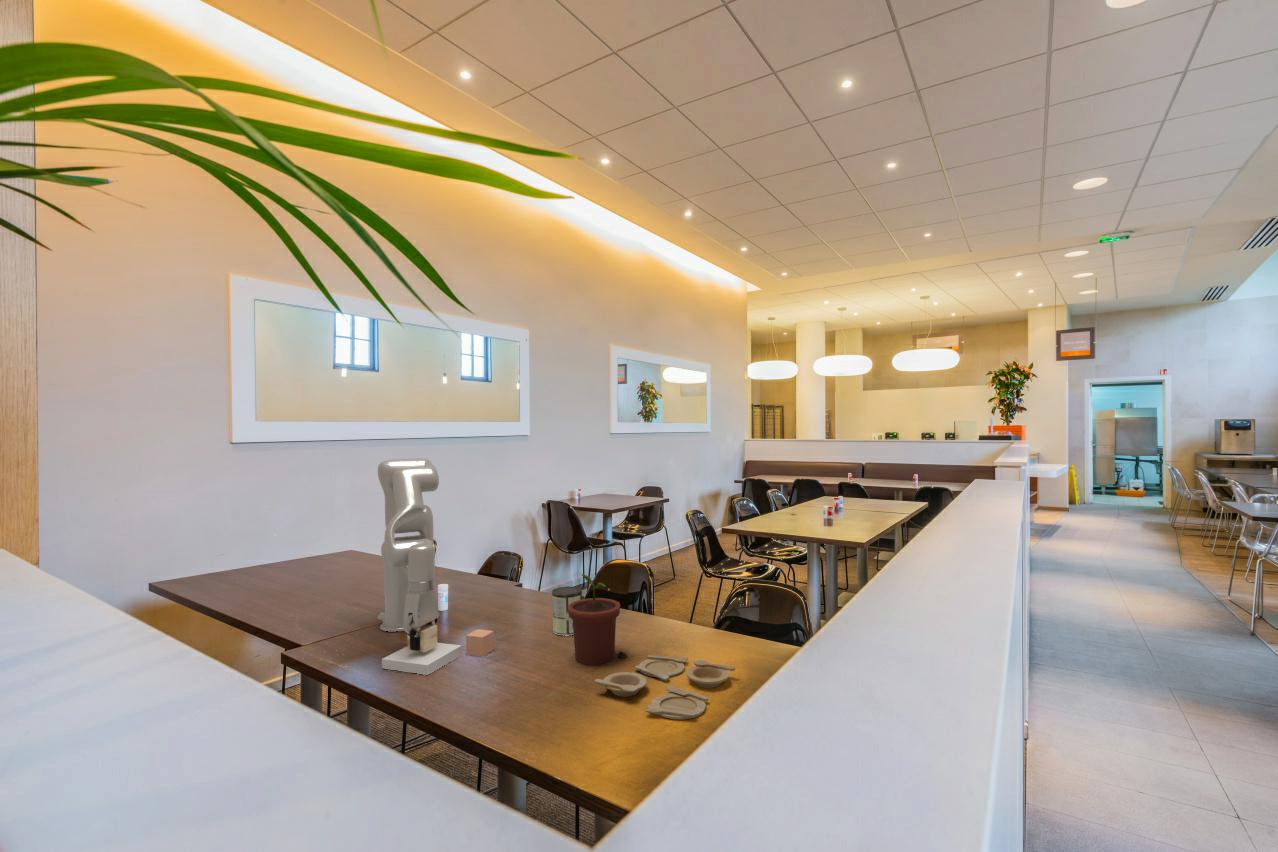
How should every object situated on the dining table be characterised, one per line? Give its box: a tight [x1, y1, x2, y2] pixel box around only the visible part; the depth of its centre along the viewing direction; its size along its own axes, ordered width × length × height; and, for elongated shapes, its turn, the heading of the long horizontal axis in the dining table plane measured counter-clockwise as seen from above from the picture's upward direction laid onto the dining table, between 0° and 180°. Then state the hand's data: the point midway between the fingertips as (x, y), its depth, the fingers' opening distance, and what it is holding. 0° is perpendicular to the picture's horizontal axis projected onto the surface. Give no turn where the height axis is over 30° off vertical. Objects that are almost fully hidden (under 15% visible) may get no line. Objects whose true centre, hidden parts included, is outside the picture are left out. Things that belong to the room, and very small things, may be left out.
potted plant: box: [568, 573, 628, 667], centre depth 184 cm, size 18×22×25 cm
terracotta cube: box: [465, 628, 495, 657], centre depth 188 cm, size 6×6×6 cm
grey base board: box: [381, 642, 463, 676], centre depth 180 cm, size 16×16×3 cm
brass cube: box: [406, 624, 439, 652], centre depth 180 cm, size 6×6×6 cm
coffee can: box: [551, 586, 583, 637], centre depth 206 cm, size 10×10×14 cm
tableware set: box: [594, 654, 736, 720], centre depth 160 cm, size 35×29×4 cm
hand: (422, 645), depth 180 cm, fingers closed on brass cube, 5 cm apart
